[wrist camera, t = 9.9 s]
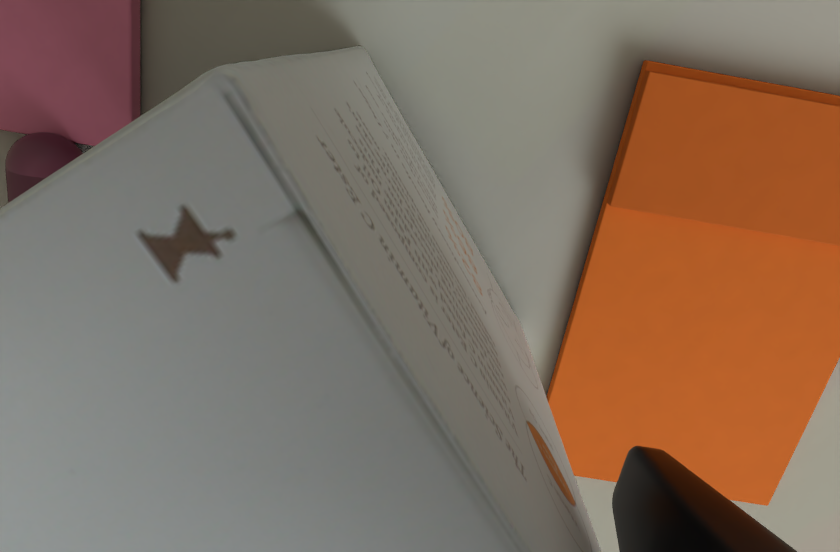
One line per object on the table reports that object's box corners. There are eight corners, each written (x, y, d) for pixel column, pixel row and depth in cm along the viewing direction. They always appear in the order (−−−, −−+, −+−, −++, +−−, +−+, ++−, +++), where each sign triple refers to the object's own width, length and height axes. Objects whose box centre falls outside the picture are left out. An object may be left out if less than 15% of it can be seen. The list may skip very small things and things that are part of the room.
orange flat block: (527, 461, 17) (530, 476, 17) (643, 60, 13) (652, 61, 13) (762, 498, 18) (773, 514, 17) (945, 115, 14) (967, 118, 13)
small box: (165, 163, 14) (-401, 425, 5) (367, 38, 13) (199, 28, 4) (344, 415, 17) (228, 939, 7) (526, 327, 16) (689, 794, 6)
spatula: (141, 494, 18) (115, 535, 17) (22, 477, 18) (-15, 516, 17) (141, -172, 12) (99, -202, 11) (-38, -207, 12) (-107, -242, 10)
